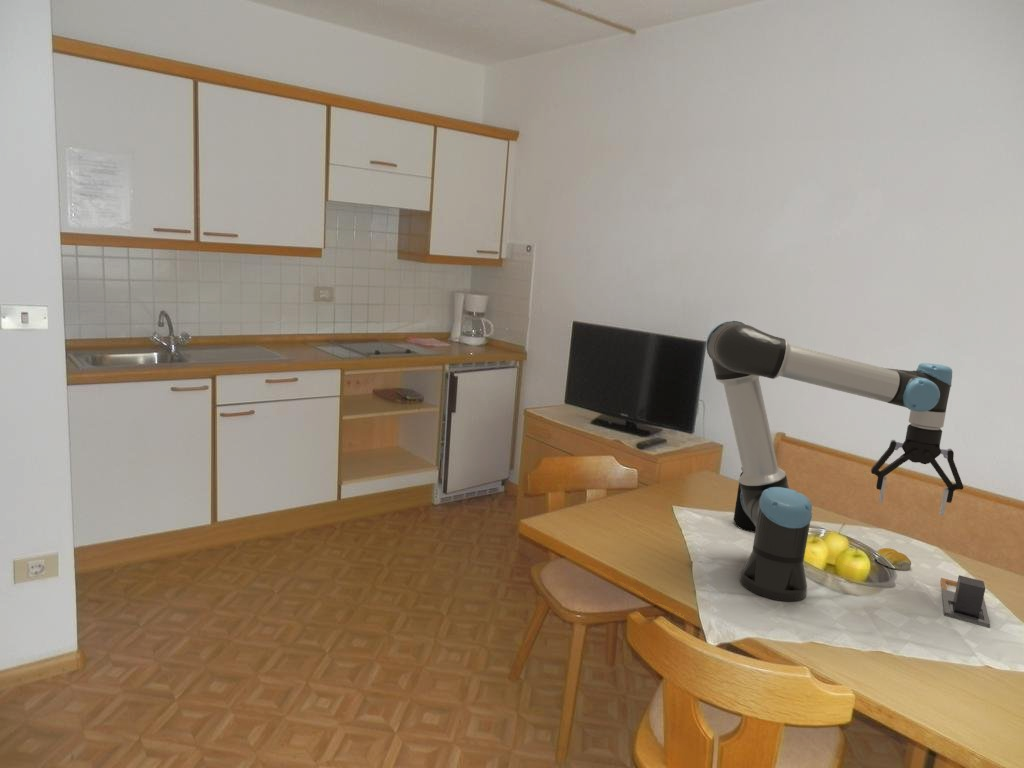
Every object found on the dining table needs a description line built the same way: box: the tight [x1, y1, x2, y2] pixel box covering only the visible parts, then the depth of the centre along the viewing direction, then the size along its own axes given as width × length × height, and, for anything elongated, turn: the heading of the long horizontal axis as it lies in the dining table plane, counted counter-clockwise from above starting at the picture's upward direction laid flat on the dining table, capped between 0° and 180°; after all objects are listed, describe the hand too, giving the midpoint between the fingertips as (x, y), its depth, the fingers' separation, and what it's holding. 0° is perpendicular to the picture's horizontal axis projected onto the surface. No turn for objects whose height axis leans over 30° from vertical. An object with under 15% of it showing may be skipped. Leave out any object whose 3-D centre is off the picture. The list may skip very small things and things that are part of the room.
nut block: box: [952, 574, 986, 619], centre depth 167 cm, size 5×5×8 cm
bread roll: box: [876, 547, 912, 571], centre depth 195 cm, size 8×9×4 cm
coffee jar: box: [733, 466, 756, 532], centre depth 214 cm, size 11×11×18 cm
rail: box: [940, 577, 991, 628], centre depth 174 cm, size 24×9×1 cm, turn 151°
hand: (910, 508), depth 180 cm, fingers open, 13 cm apart
